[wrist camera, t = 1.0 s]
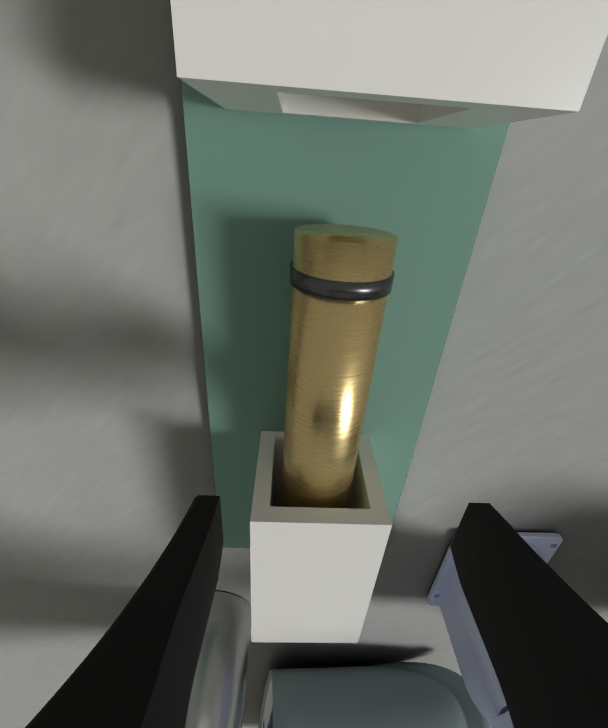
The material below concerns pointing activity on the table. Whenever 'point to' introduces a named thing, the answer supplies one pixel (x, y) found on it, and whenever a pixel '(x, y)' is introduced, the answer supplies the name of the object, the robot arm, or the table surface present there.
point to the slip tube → (331, 356)
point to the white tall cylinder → (222, 666)
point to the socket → (392, 57)
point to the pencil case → (369, 698)
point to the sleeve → (314, 554)
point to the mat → (275, 252)
